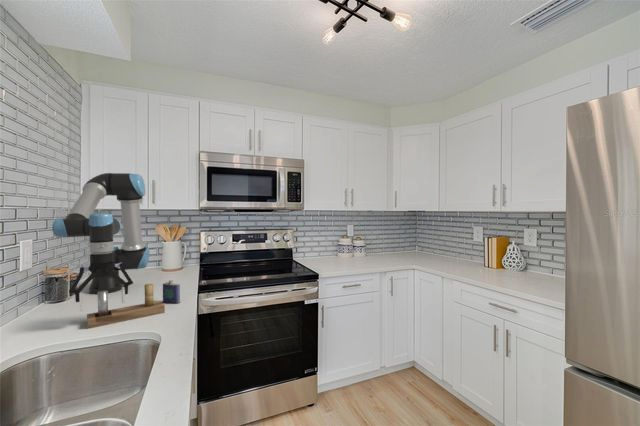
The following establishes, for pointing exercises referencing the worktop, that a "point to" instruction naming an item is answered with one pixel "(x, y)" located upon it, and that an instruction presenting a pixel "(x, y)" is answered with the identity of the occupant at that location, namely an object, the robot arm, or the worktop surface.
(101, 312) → the peg
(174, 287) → the flask
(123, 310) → the board
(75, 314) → the worktop surface
